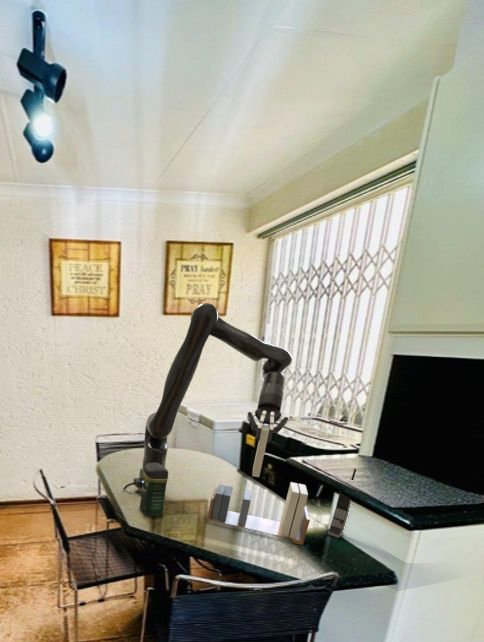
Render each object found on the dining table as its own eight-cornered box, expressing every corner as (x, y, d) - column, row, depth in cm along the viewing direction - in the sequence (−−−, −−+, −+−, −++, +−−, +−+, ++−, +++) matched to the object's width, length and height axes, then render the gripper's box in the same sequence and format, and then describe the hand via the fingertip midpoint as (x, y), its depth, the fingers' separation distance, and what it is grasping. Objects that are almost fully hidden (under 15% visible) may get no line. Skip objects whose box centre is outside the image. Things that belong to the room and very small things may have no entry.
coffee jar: (165, 518, 140) (172, 469, 134) (144, 518, 139) (150, 469, 132) (156, 506, 149) (162, 460, 143) (137, 507, 147) (142, 460, 141)
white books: (281, 534, 132) (292, 491, 127) (280, 523, 141) (290, 482, 136) (296, 538, 131) (308, 494, 126) (294, 526, 140) (305, 484, 135)
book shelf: (206, 522, 140) (211, 498, 137) (210, 510, 150) (215, 487, 147) (302, 545, 130) (310, 519, 127) (300, 530, 141) (306, 506, 137)
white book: (252, 476, 131) (262, 429, 125) (253, 467, 139) (262, 423, 134) (259, 477, 130) (269, 430, 125) (259, 468, 139) (269, 424, 133)
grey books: (211, 518, 140) (215, 493, 136) (214, 508, 149) (218, 484, 145) (245, 526, 136) (250, 500, 133) (246, 515, 145) (251, 490, 142)
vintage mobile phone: (327, 534, 139) (346, 468, 131) (331, 530, 142) (351, 466, 134) (338, 538, 137) (359, 472, 128) (342, 534, 140) (363, 469, 132)
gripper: (251, 389, 135) (242, 431, 128) (294, 394, 130) (287, 438, 123) (248, 402, 141) (240, 443, 134) (289, 408, 137) (283, 449, 130)
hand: (263, 440), depth 129 cm, fingers closed on white book, 2 cm apart
